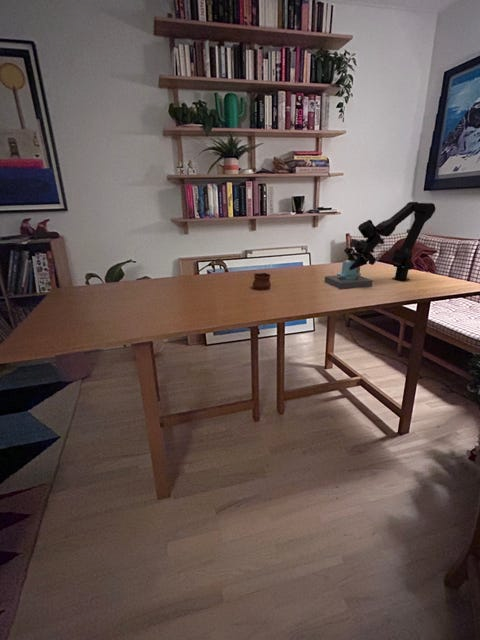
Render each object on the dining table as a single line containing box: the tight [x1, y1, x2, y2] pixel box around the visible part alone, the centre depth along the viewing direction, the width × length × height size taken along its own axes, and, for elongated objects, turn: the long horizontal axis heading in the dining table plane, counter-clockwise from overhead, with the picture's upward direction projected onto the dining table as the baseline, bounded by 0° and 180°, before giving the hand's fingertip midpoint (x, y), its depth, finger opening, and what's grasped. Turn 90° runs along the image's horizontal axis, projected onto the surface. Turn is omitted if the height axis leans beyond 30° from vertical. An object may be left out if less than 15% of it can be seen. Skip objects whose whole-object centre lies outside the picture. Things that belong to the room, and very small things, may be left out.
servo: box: [336, 260, 362, 280], centre depth 157 cm, size 11×4×11 cm, turn 107°
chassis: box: [323, 274, 374, 290], centre depth 159 cm, size 18×14×3 cm
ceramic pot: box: [252, 272, 274, 291], centre depth 151 cm, size 18×18×7 cm
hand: (347, 268), depth 156 cm, fingers closed on servo, 4 cm apart
